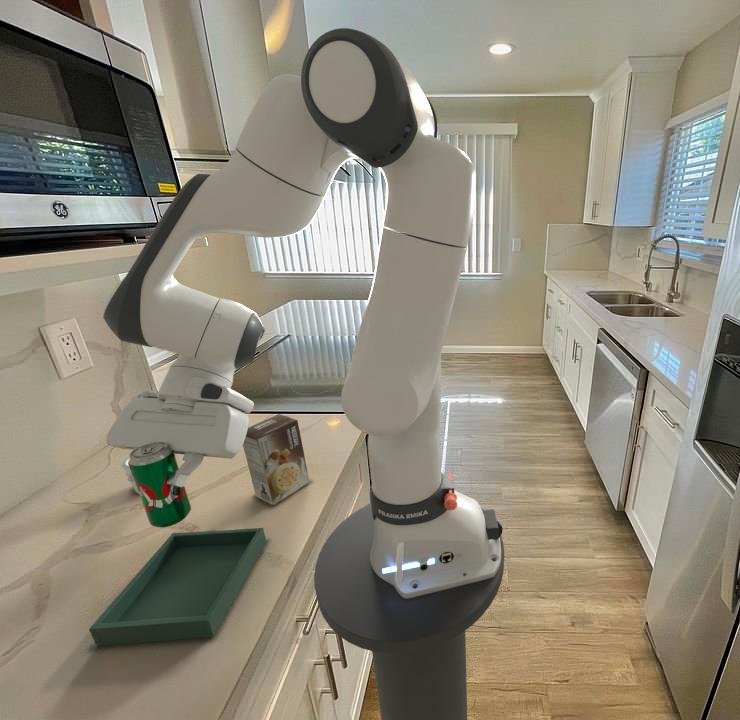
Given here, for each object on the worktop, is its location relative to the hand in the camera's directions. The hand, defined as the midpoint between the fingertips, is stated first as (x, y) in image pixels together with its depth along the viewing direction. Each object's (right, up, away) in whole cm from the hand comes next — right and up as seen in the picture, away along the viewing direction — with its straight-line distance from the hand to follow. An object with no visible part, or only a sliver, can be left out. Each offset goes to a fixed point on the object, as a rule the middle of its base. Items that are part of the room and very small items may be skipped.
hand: (155, 484), depth 57 cm
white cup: (-27, -10, +31) cm, 42 cm away
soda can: (0, -6, +3) cm, 7 cm away
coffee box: (+4, -11, +30) cm, 32 cm away
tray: (+1, -19, +7) cm, 20 cm away
